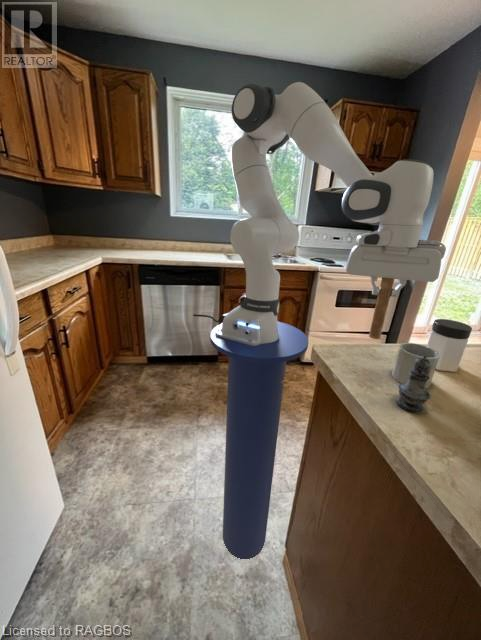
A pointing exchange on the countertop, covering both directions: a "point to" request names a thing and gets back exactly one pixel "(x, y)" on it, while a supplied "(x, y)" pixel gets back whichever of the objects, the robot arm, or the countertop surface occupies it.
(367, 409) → the countertop surface
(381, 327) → the stick
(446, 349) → the jar
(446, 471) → the countertop surface
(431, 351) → the tin
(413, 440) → the countertop surface
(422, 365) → the grey stone figurine
